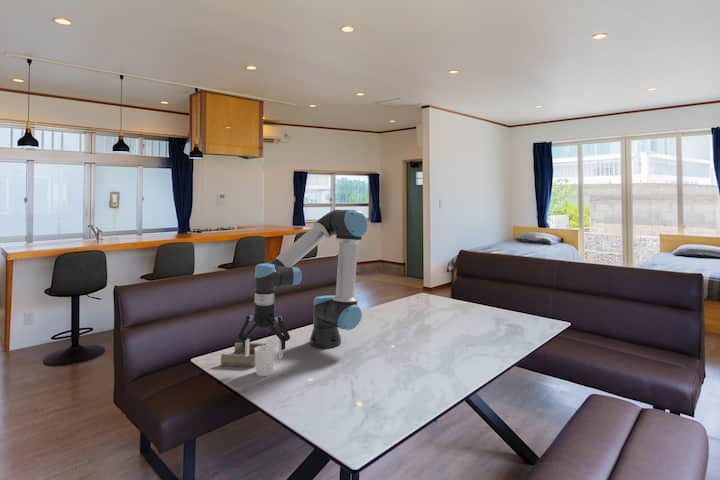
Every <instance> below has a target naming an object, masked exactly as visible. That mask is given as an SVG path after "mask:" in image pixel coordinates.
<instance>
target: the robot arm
mask: <svg viewBox="0 0 720 480" xmlns="http://www.w3.org/2000/svg"><path fill="white" fill-rule="evenodd" d="M368 223H369V222H368V219H367V217H366V216H365V214H364V213H363V212H362V211H360V210H356V209H334V210H332V211H329V212H327V213H326V214H324V215H323V216H322V217H320V218H319V219H318V220H317V221H315V222H314V223H313V225H312V226H313V227H311V228H310V229H309V230H308V231H306V232H305V233H304V234H303V235H302V236H300V237H299V238H298V239H296V241H294V242H293V243H292V244H291V245H290V246H289V247H287V248H286V249H285V250H283V252H281V253H280V254H279V255H278V256H276V257H275V258H274V259H273V260H271V261H270V262H265V263H258V264H256V265H255V269H254V303H255V304H254V314H253V315H252V314H248V315H246V317H245V321H244V324H243V326H242V327H241V330H240V332H239V334H238V336H237V338H238V339H240V340H242V343H243V348H245V357H247V356H248V355H249V343H250V338H249V337H250V335H251V334H253V332H254V331H255V330H256V329H257V327H259V328H262V329H263V328H265V329H268V328H269V329H270V330H272V332H273V333H274V335H276V336H277V338H278V339H279V343H278V347H279V348H278V356H279V357H278V359H279V360H280V359H283V357H284V351H285V349H286V341H290V340H291V336H290V334H289V332H288V329H287V327H286V325H285V323H284V321H283V316H282V315H279V316H275V304H274V303H275V290H276V289H275V288H282V287H283V288H284V287H294V286H297V285H300V284H301V283H302V280H303V272H302V270H301V269H300V268H299V267H298V266H294V265H296V264H297V263H299V261H300V260H301V259H302V258H304V257H305V256H306V255H307V254H308V253H310V252H311V251H312V250H313V249H314V248H315V247H317V246H318V245H319V244H320V243H321V242H322V241H325V240H328V239H330V238H331V237H333V236H335V239H336V240H337V242H338V253H337V255H338V256H337V271H336V289H335V295H334V294H332V295H331V294H330V295H329V294H328V295H321V296H316V297H314V298H313V304H312V305H313V306H312V307H313V328H312V331H311V333H310V334H311V335H310V337H309V345H311V346H312V347H314V348H318V349H319V348H320V349H329V348H336V347H338V346H340V345H342V337H341V334H340V331H339V329H341V330H345V331H351V330H354V329H355V328H357V326H358V325H359V324H360V322H361V321H362V316H363V312H362V309H361V308H360V307H359V305H358V301H359V300H358V298H357V297H356V296H355V294H356V278H357V277H356V276H357V263H358V249H359V248H358V247H359V246H358V245H359V243H360V242H362V239H363V238H362V237H363V236H364V235H365V234H366V232H367V230H368V226H369V225H368ZM252 321H254V322H255V323H254V324H253V325H252V327H251V328H250V329H249V330H248V331H247V332H246V330H247V329H248V327H249V324H251V323H250V322H252ZM275 321H276V323H278V327H279V328H280V329H279V328H278V327H277V325H276V324H275Z"/></svg>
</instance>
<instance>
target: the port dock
mask: <svg viewBox="0 0 720 480" xmlns="http://www.w3.org/2000/svg"><path fill="white" fill-rule="evenodd" d="M261 345H267V343H260V342H259V343H255V342H249V355H248V356H247V357H245V348H243V342H234V350H233V352H232V353H222V354H220V364H221V367H240V368H256V365H255V348H256V347H257V346H261Z"/></svg>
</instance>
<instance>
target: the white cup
mask: <svg viewBox="0 0 720 480" xmlns="http://www.w3.org/2000/svg"><path fill="white" fill-rule="evenodd" d="M275 357H276V347H275V346H274V345H271V344H266V345H261V346H257V347H256V348H255V365H256V366H255V374H256V375H257V376H260V377H268V376H271V375H273V374H274V372H275Z"/></svg>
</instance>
